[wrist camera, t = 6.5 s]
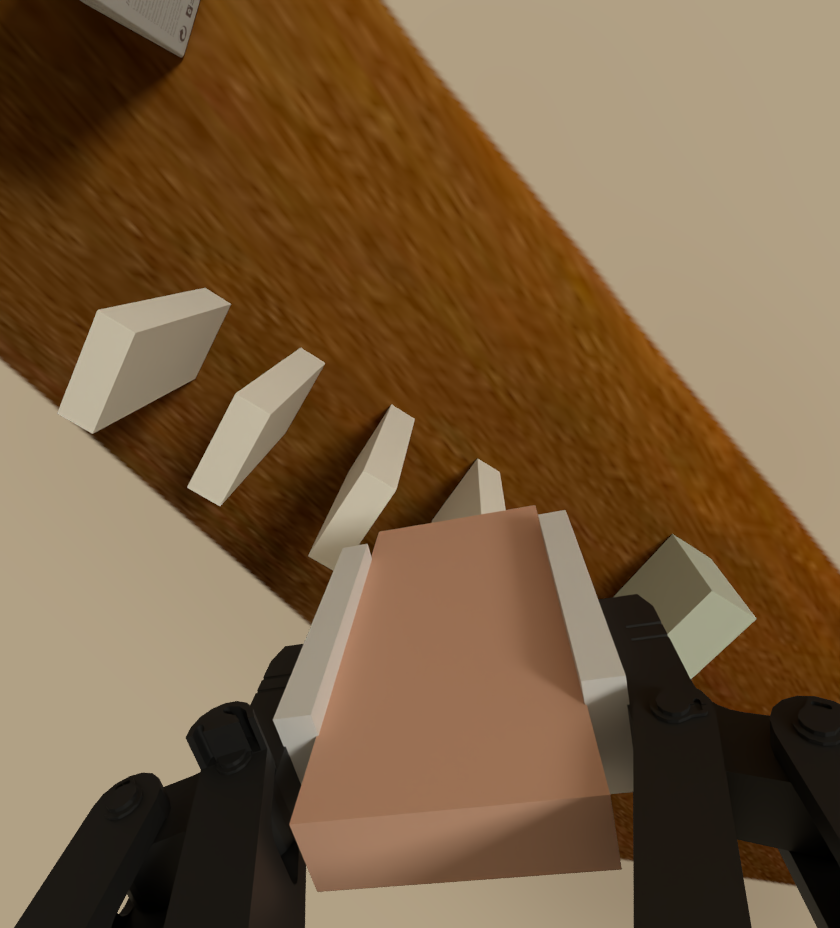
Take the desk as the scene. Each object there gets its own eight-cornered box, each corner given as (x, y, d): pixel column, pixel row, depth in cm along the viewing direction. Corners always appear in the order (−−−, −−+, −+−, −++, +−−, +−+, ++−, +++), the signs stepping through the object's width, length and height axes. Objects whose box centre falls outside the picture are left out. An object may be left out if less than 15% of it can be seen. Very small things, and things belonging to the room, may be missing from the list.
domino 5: (542, 550, 18) (622, 869, 9) (390, 574, 19) (317, 892, 10) (535, 505, 18) (609, 794, 8) (379, 531, 18) (289, 824, 9)
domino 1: (170, 363, 33) (57, 413, 24) (204, 287, 32) (97, 310, 22) (195, 378, 33) (92, 433, 24) (231, 304, 32) (135, 332, 22)
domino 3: (349, 470, 35) (307, 556, 26) (391, 404, 33) (363, 470, 24) (371, 484, 35) (338, 573, 26) (414, 418, 33) (396, 489, 24)
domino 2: (261, 418, 34) (186, 487, 25) (300, 347, 32) (235, 393, 23) (285, 432, 34) (220, 506, 25) (325, 363, 33) (270, 414, 23)
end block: (570, 643, 39) (588, 712, 33) (672, 534, 35) (712, 590, 29) (605, 663, 39) (629, 735, 33) (710, 558, 35) (756, 618, 30)
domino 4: (432, 520, 36) (421, 620, 27) (477, 458, 34) (483, 542, 25) (453, 533, 36) (450, 636, 27) (499, 472, 34) (513, 560, 25)
